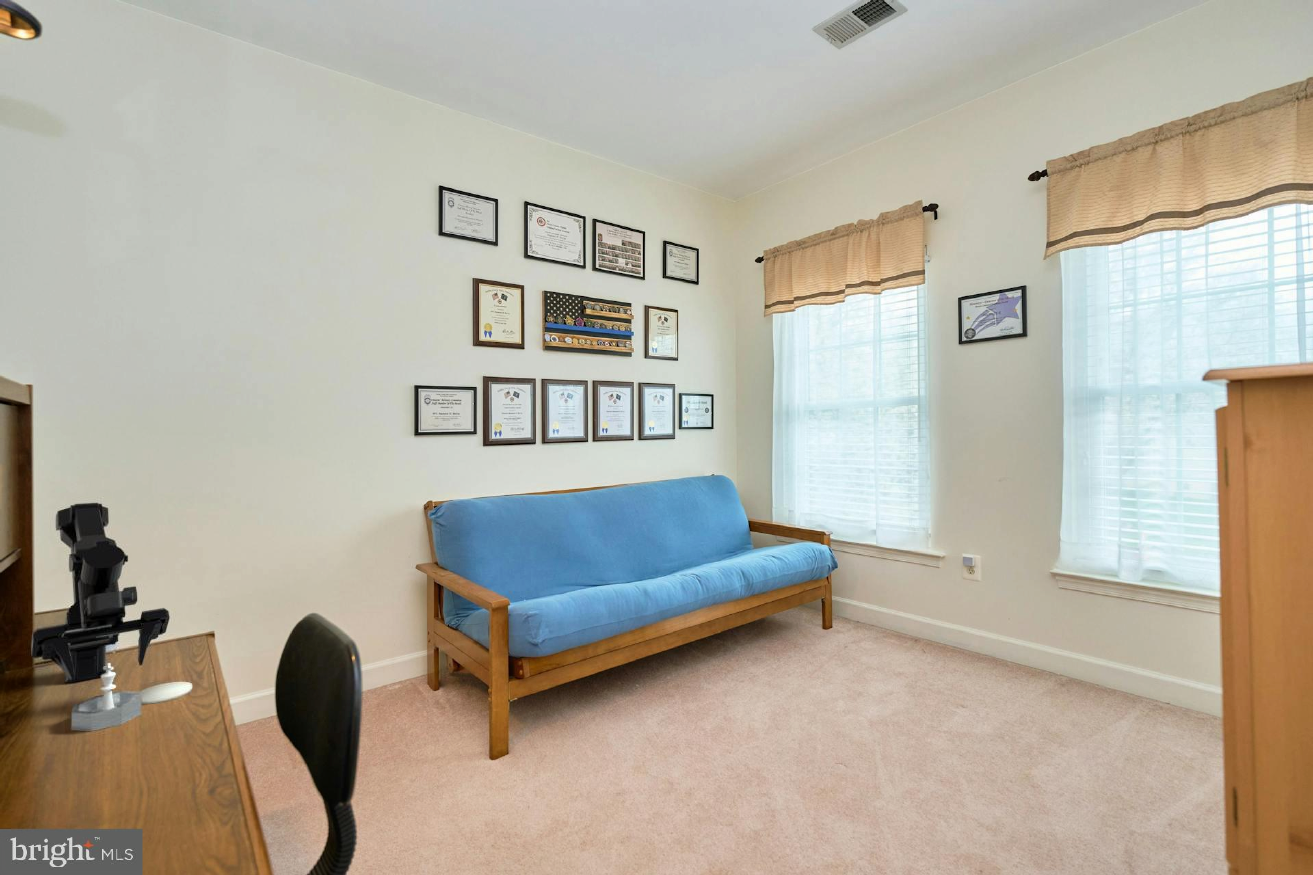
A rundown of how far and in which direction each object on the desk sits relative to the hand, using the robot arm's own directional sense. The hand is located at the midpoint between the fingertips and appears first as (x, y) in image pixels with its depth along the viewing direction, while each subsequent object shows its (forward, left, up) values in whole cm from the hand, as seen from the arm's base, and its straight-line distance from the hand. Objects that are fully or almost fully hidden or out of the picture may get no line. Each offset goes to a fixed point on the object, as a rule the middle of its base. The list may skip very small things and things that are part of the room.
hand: (108, 671), depth 108 cm
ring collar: (0, 0, -8) cm, 8 cm away
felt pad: (-7, +8, -8) cm, 14 cm away
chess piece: (0, 0, -9) cm, 9 cm away
